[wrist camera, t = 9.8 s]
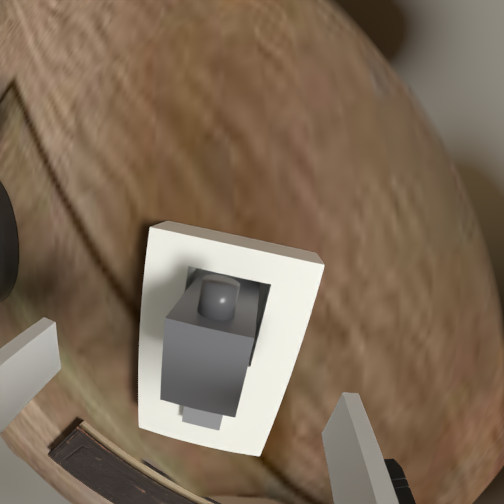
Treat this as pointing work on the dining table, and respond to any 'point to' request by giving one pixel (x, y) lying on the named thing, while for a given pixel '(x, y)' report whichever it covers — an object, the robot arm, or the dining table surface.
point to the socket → (266, 333)
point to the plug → (209, 343)
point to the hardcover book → (117, 471)
